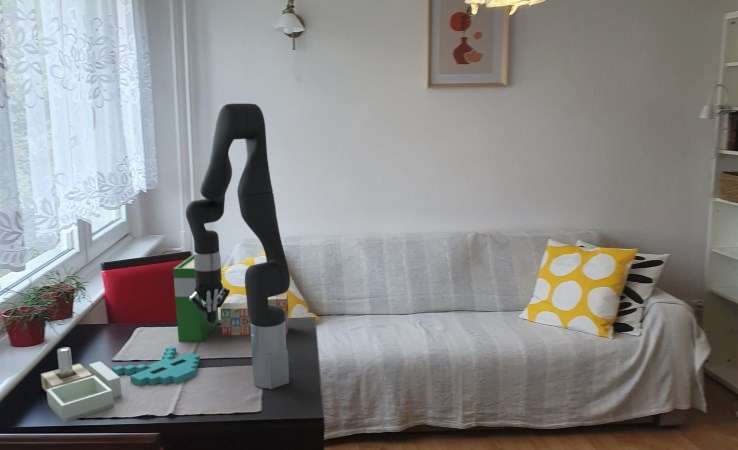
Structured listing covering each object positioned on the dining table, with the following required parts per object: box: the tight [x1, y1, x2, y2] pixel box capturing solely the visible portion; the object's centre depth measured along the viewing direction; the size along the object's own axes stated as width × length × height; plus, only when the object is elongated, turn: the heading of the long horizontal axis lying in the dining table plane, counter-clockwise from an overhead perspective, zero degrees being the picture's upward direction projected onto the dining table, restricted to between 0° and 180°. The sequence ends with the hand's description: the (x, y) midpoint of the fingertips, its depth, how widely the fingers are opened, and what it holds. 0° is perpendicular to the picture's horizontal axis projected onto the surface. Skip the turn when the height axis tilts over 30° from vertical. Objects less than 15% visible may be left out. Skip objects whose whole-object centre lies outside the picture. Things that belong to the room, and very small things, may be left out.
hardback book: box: [172, 254, 220, 343], centre depth 212 cm, size 18×7×24 cm, turn 175°
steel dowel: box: [56, 346, 73, 379], centre depth 173 cm, size 3×3×11 cm
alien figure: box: [111, 345, 201, 387], centre depth 185 cm, size 20×2×20 cm
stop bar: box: [88, 361, 123, 399], centre depth 174 cm, size 14×3×5 cm, turn 42°
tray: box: [46, 376, 114, 424], centre depth 164 cm, size 12×12×4 cm
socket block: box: [40, 363, 92, 393], centre depth 174 cm, size 10×10×4 cm
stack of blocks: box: [220, 292, 290, 336], centre depth 213 cm, size 21×6×12 cm, turn 92°
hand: (210, 322), depth 193 cm, fingers closed
